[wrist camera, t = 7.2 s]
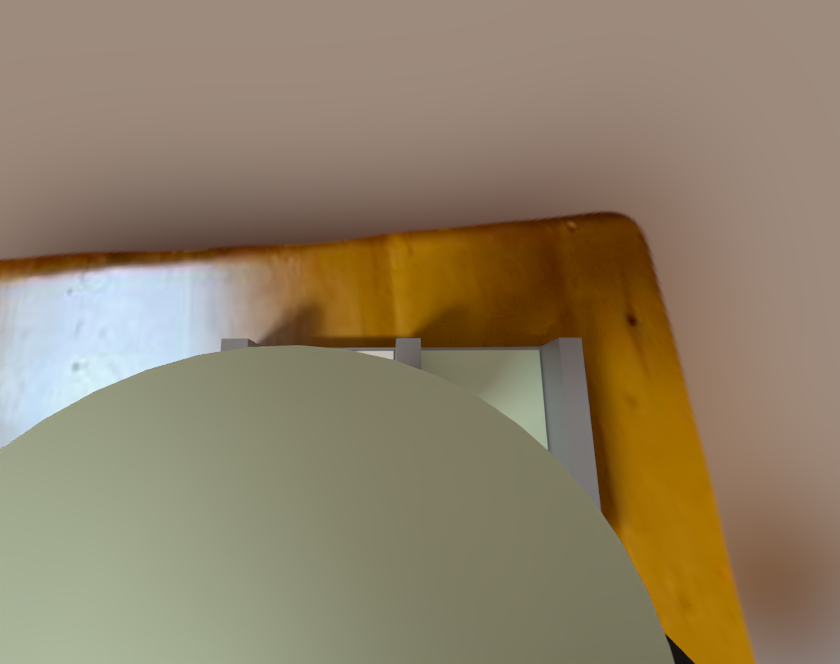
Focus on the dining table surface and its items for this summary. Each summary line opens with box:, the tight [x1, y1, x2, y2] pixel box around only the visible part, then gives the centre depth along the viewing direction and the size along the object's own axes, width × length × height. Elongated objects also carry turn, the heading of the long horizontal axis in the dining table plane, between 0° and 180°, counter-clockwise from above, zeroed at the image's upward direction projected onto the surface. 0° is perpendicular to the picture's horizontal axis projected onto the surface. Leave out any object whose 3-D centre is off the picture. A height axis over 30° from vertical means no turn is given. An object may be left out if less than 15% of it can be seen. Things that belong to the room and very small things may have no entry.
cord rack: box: [221, 338, 601, 511], centre depth 20 cm, size 12×18×4 cm
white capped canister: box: [0, 345, 675, 664], centre depth 8 cm, size 5×5×12 cm
